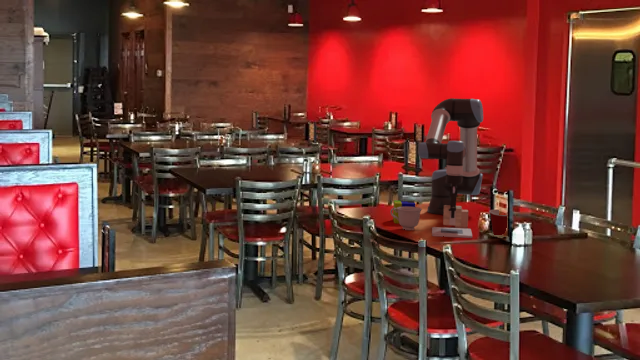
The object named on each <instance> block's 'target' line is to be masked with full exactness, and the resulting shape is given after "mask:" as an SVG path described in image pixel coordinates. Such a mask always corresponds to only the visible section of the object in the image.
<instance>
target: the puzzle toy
mask: <svg viewBox="0 0 640 360" xmlns="http://www.w3.org/2000/svg"><path fill="white" fill-rule="evenodd" d="M397 207H416V202H415V201H414V200H393V208H396V210H397ZM397 211H398V210H397ZM392 213H393V215H394V216H396V217H398V218H399V216H398V212H397V213H396V211H395V210H393V211H392ZM392 220H393V223H394V224H400V223H399V221H398V219H396V218H394V217H392Z"/></svg>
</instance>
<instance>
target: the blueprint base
mask: <svg viewBox="0 0 640 360" xmlns="http://www.w3.org/2000/svg"><path fill="white" fill-rule="evenodd" d="M431 228H432V229H431V236H432V237H443V236H444V238H445V237H447V238H466V239H467V238H468V239H469V238H470V239H473V233H472V229H471V228H455V227H437V226H432V227H431Z"/></svg>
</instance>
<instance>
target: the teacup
mask: <svg viewBox="0 0 640 360" xmlns="http://www.w3.org/2000/svg"><path fill="white" fill-rule="evenodd" d="M393 210H395V211H396V213H397V212H398V216H399V218H398V217H396V216H394V215H393ZM397 210H398V211H397ZM397 210H396V208H394V207H392V208H391V209H390V215H391V217H392V218H393V217H394V218H396V219H398V221H399V223H398V224H399V225H400V226H401V227H402V228H401V229H402V230H404V229H405V231H414V230H415V227H417V226H418V225H419V222H420V215H421V212H422V210H423V209H422V208H421V207H418V206H415V207H397Z"/></svg>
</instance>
